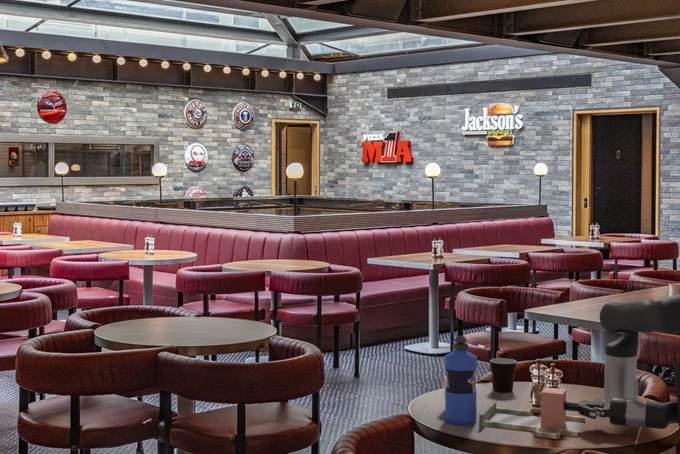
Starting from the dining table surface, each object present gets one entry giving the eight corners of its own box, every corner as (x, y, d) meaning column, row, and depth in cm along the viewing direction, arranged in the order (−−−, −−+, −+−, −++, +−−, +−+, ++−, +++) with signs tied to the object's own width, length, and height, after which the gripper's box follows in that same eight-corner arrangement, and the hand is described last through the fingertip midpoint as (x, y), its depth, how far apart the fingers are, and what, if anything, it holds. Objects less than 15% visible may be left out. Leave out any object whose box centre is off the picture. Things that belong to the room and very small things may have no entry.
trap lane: (587, 420, 259) (587, 407, 259) (574, 444, 236) (574, 430, 236) (495, 410, 270) (495, 397, 269) (475, 432, 247) (475, 418, 247)
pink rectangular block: (565, 423, 252) (566, 389, 252) (562, 429, 247) (563, 394, 246) (544, 421, 255) (545, 387, 254) (540, 426, 249) (541, 392, 248)
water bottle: (442, 423, 255) (441, 338, 254) (448, 415, 264) (447, 332, 263) (474, 426, 253) (474, 339, 251) (479, 417, 261) (479, 334, 260)
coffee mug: (510, 395, 288) (510, 364, 288) (485, 391, 293) (486, 361, 292) (523, 387, 298) (523, 358, 297) (499, 384, 303) (499, 355, 302)
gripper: (631, 393, 248) (568, 387, 255) (626, 404, 236) (560, 398, 243) (630, 419, 249) (567, 412, 255) (626, 432, 237) (560, 424, 243)
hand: (564, 405), depth 249 cm, fingers closed
